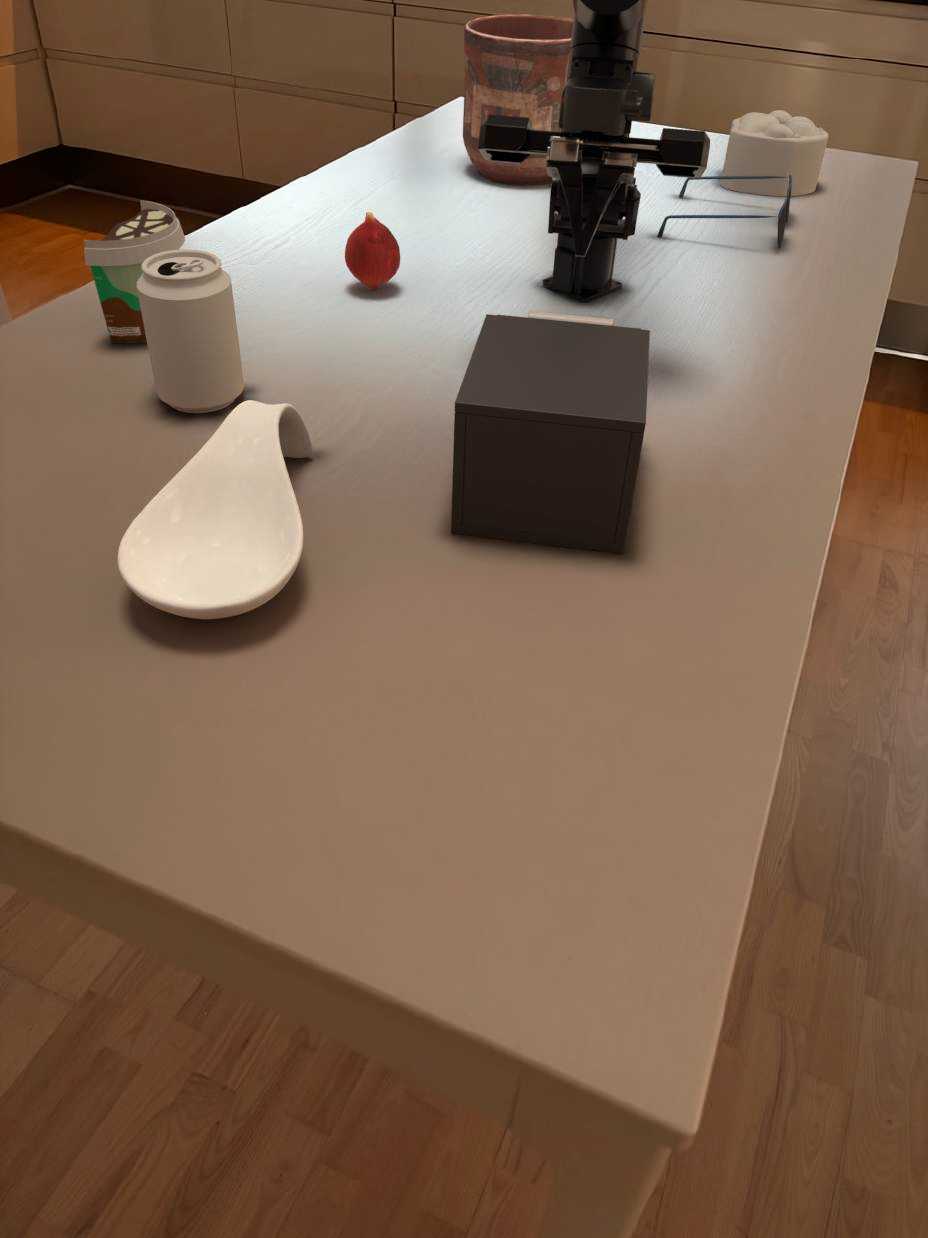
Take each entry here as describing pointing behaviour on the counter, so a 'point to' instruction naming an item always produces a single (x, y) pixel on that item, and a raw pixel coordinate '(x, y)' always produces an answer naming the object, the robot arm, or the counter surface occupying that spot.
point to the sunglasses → (781, 216)
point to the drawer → (570, 318)
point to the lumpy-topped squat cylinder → (774, 154)
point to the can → (191, 330)
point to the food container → (130, 266)
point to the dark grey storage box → (550, 433)
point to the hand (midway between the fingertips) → (580, 256)
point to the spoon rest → (223, 520)
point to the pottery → (514, 84)
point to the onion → (372, 253)
